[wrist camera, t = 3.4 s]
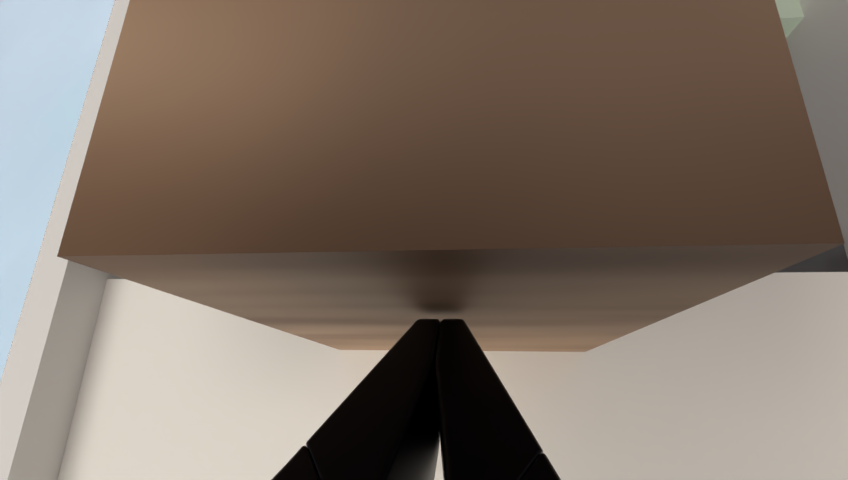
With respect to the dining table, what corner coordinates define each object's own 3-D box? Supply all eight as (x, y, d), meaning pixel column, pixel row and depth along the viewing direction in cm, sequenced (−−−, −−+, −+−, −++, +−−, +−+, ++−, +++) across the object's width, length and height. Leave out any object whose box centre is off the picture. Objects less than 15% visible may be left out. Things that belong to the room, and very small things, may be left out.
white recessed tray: (1114, 1030, 10) (1402, 1318, 7) (-28, 856, 14) (-186, 999, 10) (771, -79, 21) (824, -164, 18) (186, -26, 24) (141, -90, 21)
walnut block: (585, 351, 15) (845, 242, 4) (339, 349, 15) (56, 257, 5) (563, 108, 17) (684, -311, 7) (356, 118, 18) (198, -241, 8)
